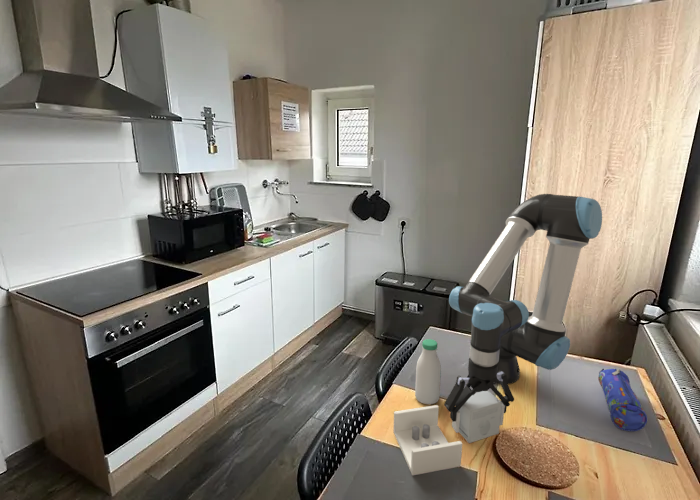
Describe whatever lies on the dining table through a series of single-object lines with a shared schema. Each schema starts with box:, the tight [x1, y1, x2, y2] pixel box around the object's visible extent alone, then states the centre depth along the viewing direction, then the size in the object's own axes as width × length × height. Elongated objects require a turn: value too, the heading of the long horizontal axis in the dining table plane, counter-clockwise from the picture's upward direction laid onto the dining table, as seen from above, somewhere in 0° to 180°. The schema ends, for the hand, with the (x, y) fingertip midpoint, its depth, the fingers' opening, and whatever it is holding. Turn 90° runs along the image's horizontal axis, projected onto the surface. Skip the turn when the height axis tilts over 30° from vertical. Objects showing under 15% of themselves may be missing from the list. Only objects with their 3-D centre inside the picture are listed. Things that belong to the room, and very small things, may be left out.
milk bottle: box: [414, 338, 442, 405], centre depth 120 cm, size 8×8×20 cm
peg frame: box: [392, 404, 463, 476], centre depth 101 cm, size 13×15×7 cm
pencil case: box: [597, 368, 648, 432], centre depth 115 cm, size 22×9×10 cm, turn 157°
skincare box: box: [459, 390, 501, 444], centre depth 107 cm, size 10×6×10 cm, turn 110°
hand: (477, 425), depth 108 cm, fingers open, 13 cm apart
